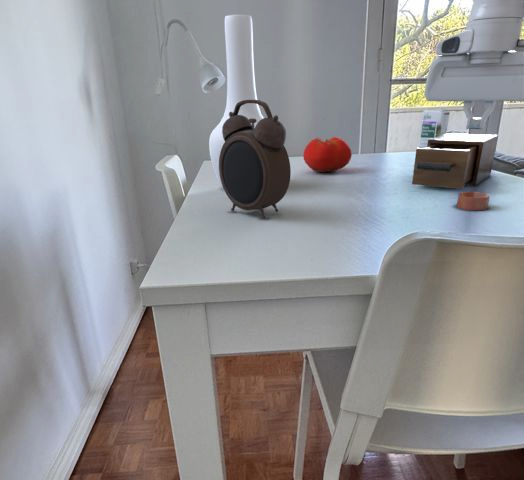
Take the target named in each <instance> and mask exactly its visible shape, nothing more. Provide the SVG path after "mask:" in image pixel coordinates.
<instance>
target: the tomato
mask: <svg viewBox="0 0 524 480" xmlns="http://www.w3.org/2000/svg"><path fill="white" fill-rule="evenodd" d="M302 156H303V160H304V163H305V165H307V167H308V168H309V169H311V170H312V171H315V172H320V173H327V172H329V171H330V172H332V171H333V172H336V171H338V170H342V169H343V168H345V167H346V166H347V165H349V163H350V162H351V159H352V156H353V154H352V150H351V147H350V146H349V144H348V143H347V142H346V141H345V140H344V139H343V138H341V137H336V136H333V137H330V138H329V139H325V140H324V139H322V138H320V137H317V138H313V139H311V140H310V142H308V144H307V145H306V146H305V148H304V150H303V155H302Z"/></svg>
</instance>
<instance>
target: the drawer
mask: <svg viewBox="0 0 524 480" xmlns="http://www.w3.org/2000/svg"><path fill="white" fill-rule="evenodd" d="M478 150H479V145H462V144H434V145H431V146H428V147H425V148H419V147H417V148H415V157H414V165H413V171H412V172H413V173H412V181H411V185H414V186H424V187H437V188H448V189H459V190H462V189H464V188H465V185H464V184H465V183H467V182H468V181H470V180H472V179H473V177H474V172H475V166H476V161H477V156H478Z"/></svg>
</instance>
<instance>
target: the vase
mask: <svg viewBox="0 0 524 480" xmlns="http://www.w3.org/2000/svg"><path fill="white" fill-rule="evenodd" d="M253 29H254V28H253V17H252V15H251V14H230V15H225V17H224V38H225V39H224V40H225V55H226V56H225V57H226V58H225V59H226V88H227V89H226V103H225V109H224V113H223V116H222V118H221V120H220V122H219V123H218V124H217V125H216V126H215V128H213V130H212V131H211V132H210V135H209V140H208V148H209V149H208V151H209V156H210V157H209V158H210V161H211V165H212V169H213V171H214V174H215V177H216V179H217V181H218V182H219V184H220V186H221V187H222V188H223V186H222V183H221V179H220V174H219V157H220V152H221V149H222V146H223V144H224V142H225V141H224V138H223V134H222V127H223V124H224V123H225V121H226V120H227V119H229V118H230V116H229V112H232V113H233V112H234V109H235V106H236V104H237V103H238V102H241V101H243V100H258V96H257V89H256V80H255V79H256V78H255V61H254V30H253ZM238 115H243V116H245V117H247V118H248V120H249V119H250V118H251V119H256V123H254V128H255V126H256V125H257V123H258V122H259V121H260V120H261V119H264V118H265V117H264V116H263V115H262V112H261V109H260V105H258V104H255V103H246V104H244V105H242V106H241V107H240V110H239V112H238ZM251 124H252V123H251Z"/></svg>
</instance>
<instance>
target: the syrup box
mask: <svg viewBox="0 0 524 480" xmlns="http://www.w3.org/2000/svg"><path fill="white" fill-rule="evenodd" d="M450 110H451V109H425V110H423V111H422V115H421V116H422V117H421V124H420V133H419V141H418V148H425V147H427V144H428V139H432V138H435V137H438V136H441V135H444V134H448V133H447V132H448V131H447V130H448V126H449V118H450V113H451V111H450Z"/></svg>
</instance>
